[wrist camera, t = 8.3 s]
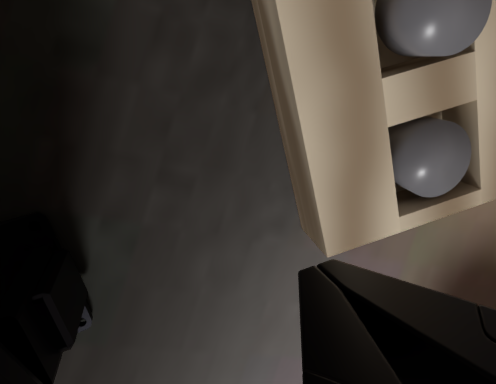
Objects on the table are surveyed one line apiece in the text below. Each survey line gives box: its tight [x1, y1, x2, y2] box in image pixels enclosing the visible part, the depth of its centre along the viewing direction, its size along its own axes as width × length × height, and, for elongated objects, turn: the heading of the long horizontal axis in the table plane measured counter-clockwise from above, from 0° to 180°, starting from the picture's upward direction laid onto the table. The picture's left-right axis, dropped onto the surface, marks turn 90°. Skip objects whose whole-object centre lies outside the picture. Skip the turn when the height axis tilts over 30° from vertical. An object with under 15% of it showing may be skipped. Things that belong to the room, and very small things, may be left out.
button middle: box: [375, 0, 492, 57], centre depth 16 cm, size 4×4×2 cm
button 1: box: [388, 116, 471, 197], centre depth 20 cm, size 4×4×2 cm
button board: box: [251, 0, 496, 258], centre depth 18 cm, size 15×19×4 cm
